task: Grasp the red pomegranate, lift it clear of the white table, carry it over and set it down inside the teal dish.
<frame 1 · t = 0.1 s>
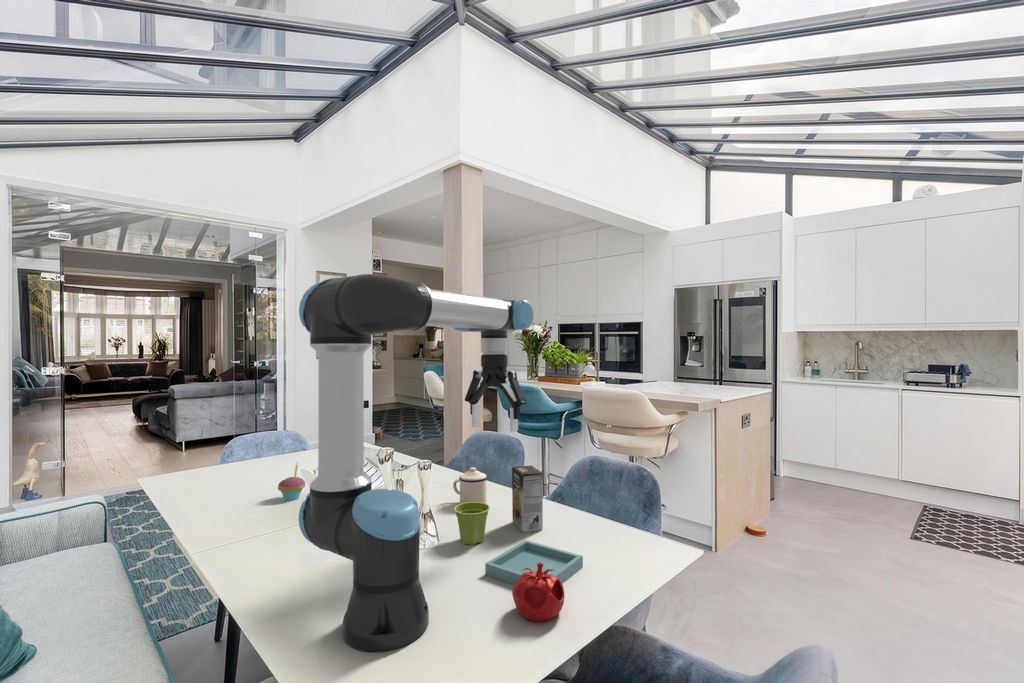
hand: (494, 428, 135), 28 cm above the table, fingers open, 13 cm apart
pomegranate: (538, 613, 91), on the table
coffee box: (527, 526, 136), on the table
dish: (534, 570, 109), on the table
plant pot: (472, 541, 126), on the table
cupcake: (291, 499, 163), on the table
teacup with lid: (469, 503, 157), on the table
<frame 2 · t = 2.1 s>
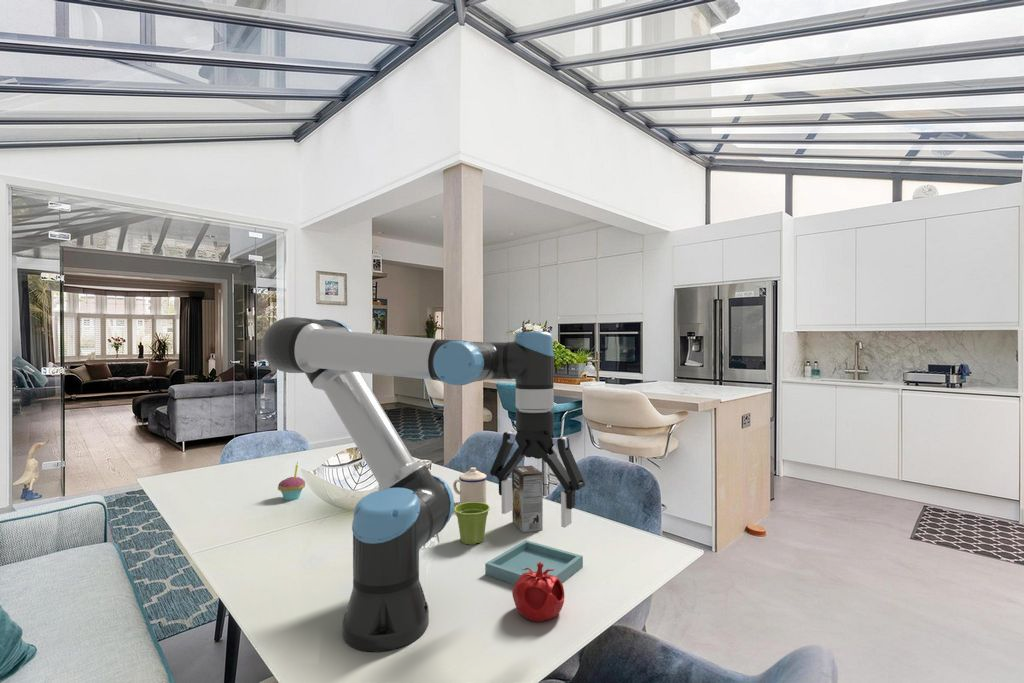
hand: (535, 518, 94), 17 cm above the table, fingers open, 13 cm apart
nothing on the table moved.
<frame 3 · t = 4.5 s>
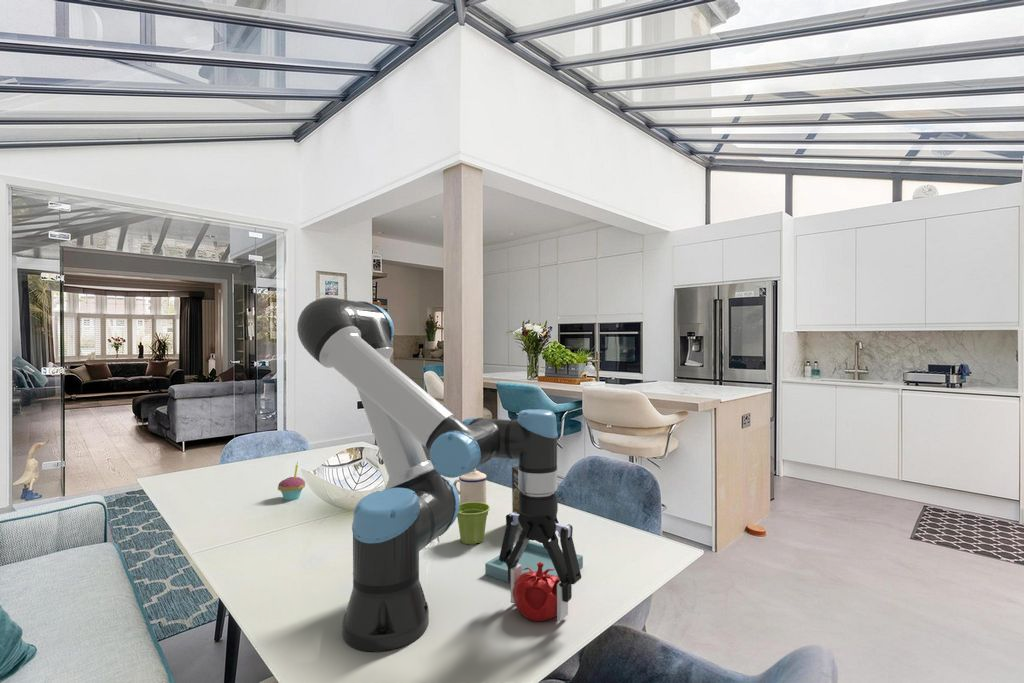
hand: (538, 608, 91), 1 cm above the table, fingers closed on pomegranate, 10 cm apart
pomegranate: (538, 613, 91), on the table, touching gripper
everything else where it was.
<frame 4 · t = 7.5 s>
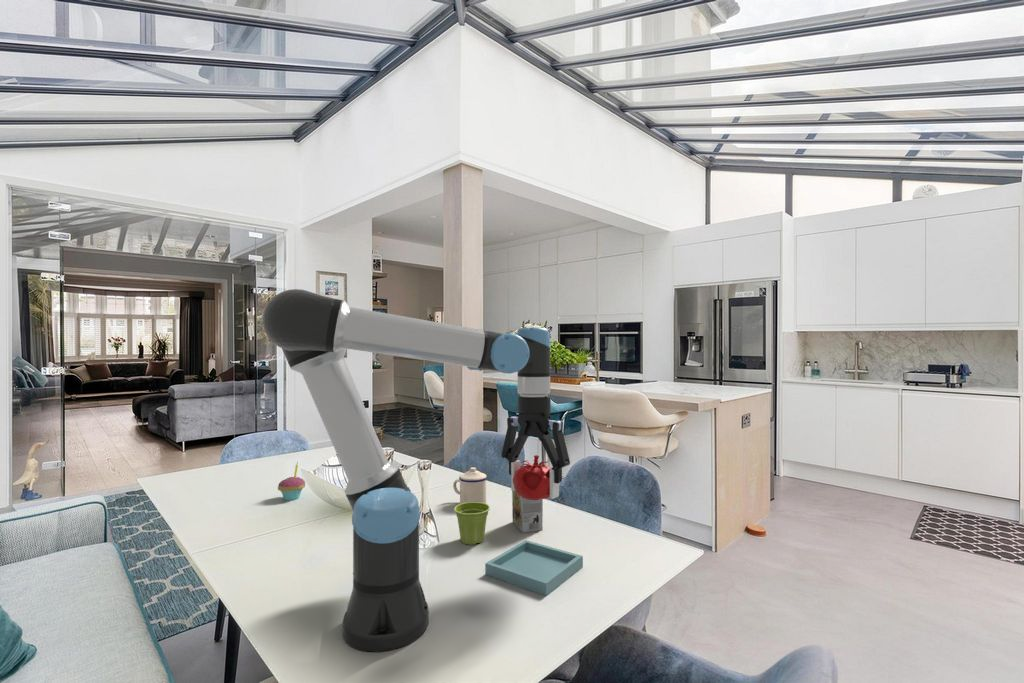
hand: (534, 493, 109), 18 cm above the table, fingers closed on pomegranate, 10 cm apart
pomegranate: (534, 497, 109), point 17 cm above the table, touching gripper
everything else where it was.
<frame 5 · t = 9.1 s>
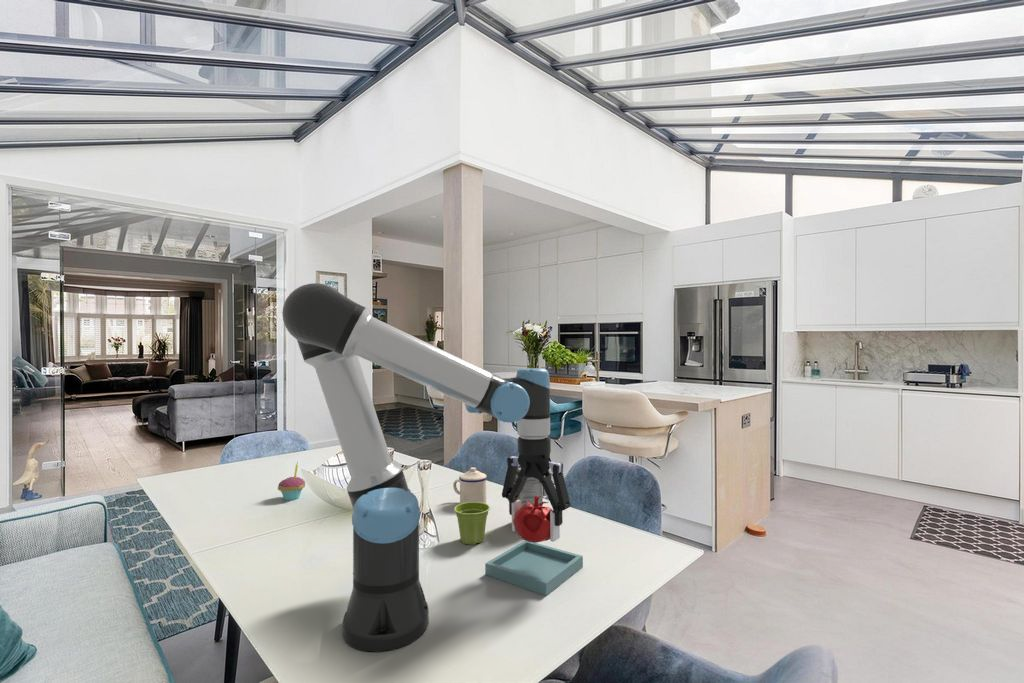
hand: (535, 534, 109), 8 cm above the table, fingers closed on pomegranate, 10 cm apart
pomegranate: (535, 538, 109), point 7 cm above the table, touching gripper
everything else where it was.
when the fingers open (4 cm above the table, at t = 10.5 s): pomegranate drops 2 cm, resting on dish.
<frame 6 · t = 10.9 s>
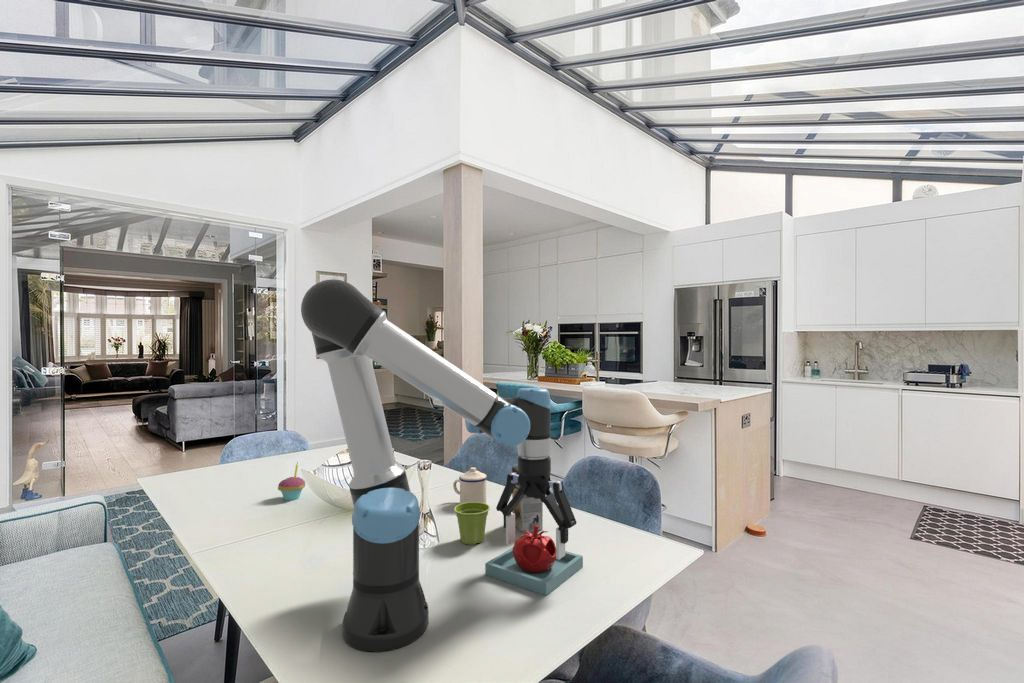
hand: (534, 549, 109), 5 cm above the table, fingers open, 13 cm apart
pomegranate: (534, 567, 109), point 1 cm above the table, touching dish
everything else where it was.
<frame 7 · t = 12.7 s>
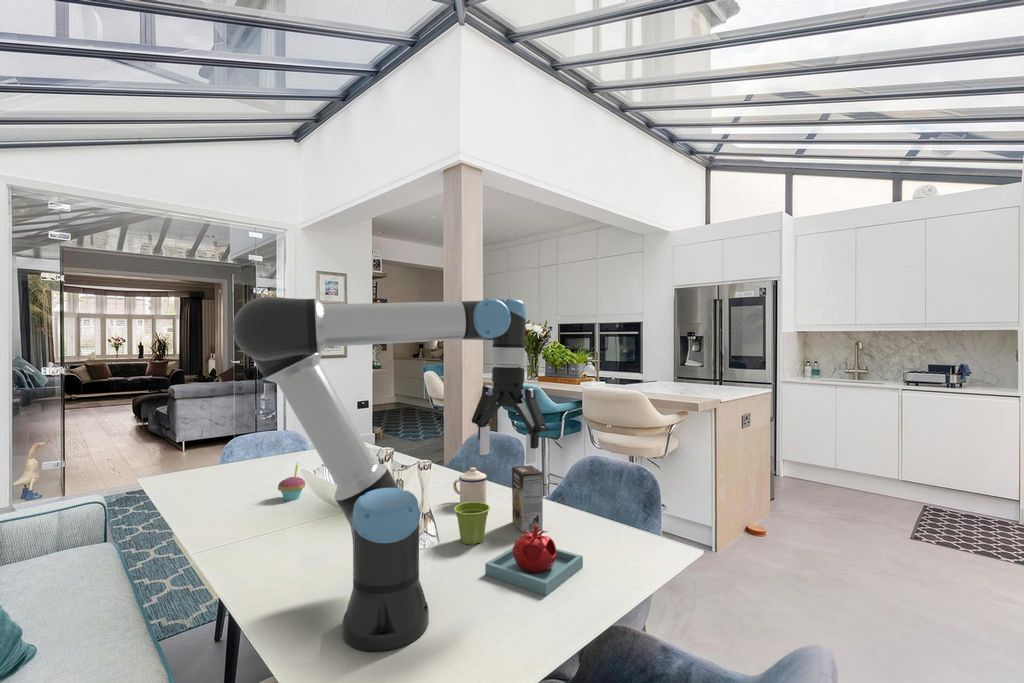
hand: (506, 458, 110), 25 cm above the table, fingers open, 13 cm apart
nothing on the table moved.
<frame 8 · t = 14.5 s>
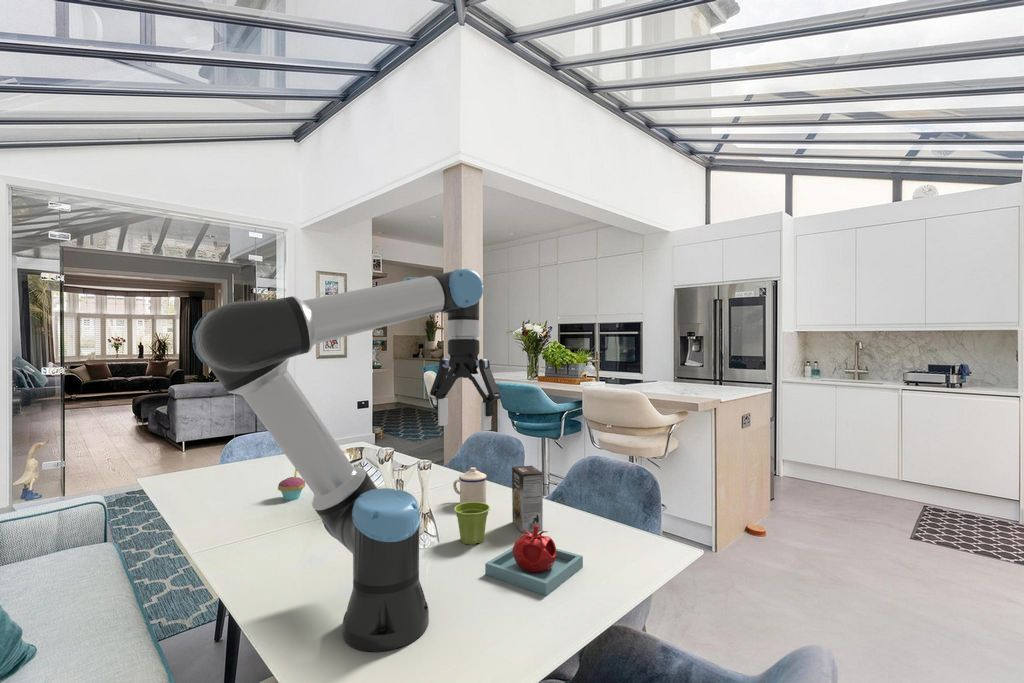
hand: (463, 427, 114), 32 cm above the table, fingers open, 13 cm apart
nothing on the table moved.
at the end: pomegranate 0.1 cm from the dish (horizontally); pomegranate point 0.6 cm above the table; the gripper is holding nothing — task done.
